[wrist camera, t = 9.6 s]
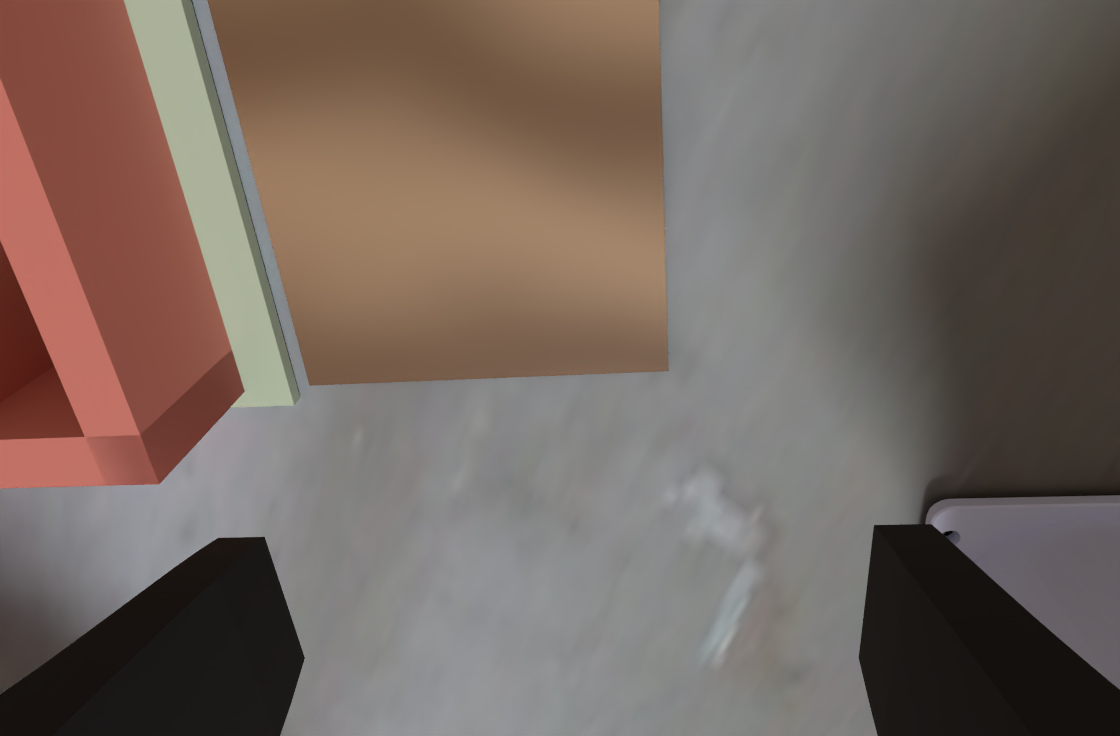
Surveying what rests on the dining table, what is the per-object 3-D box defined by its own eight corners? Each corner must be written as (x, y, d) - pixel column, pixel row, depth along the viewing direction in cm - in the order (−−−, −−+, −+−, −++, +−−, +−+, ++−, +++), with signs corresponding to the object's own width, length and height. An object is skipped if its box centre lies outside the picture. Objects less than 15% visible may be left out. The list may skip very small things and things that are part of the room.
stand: (667, 365, 19) (680, 496, 14) (314, 380, 20) (214, 507, 15) (647, -408, 12) (659, -645, 8) (128, -329, 13) (-144, -496, 9)
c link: (244, 391, 19) (159, 484, 16) (42, 399, 20) (-84, 490, 17) (106, -56, 15) (-57, -66, 11) (-149, -28, 16) (-378, -29, 12)
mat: (300, 397, 20) (294, 405, 20) (18, 408, 21) (8, 415, 20) (165, -93, 15) (154, -95, 15) (-196, -52, 16) (-215, -53, 15)
